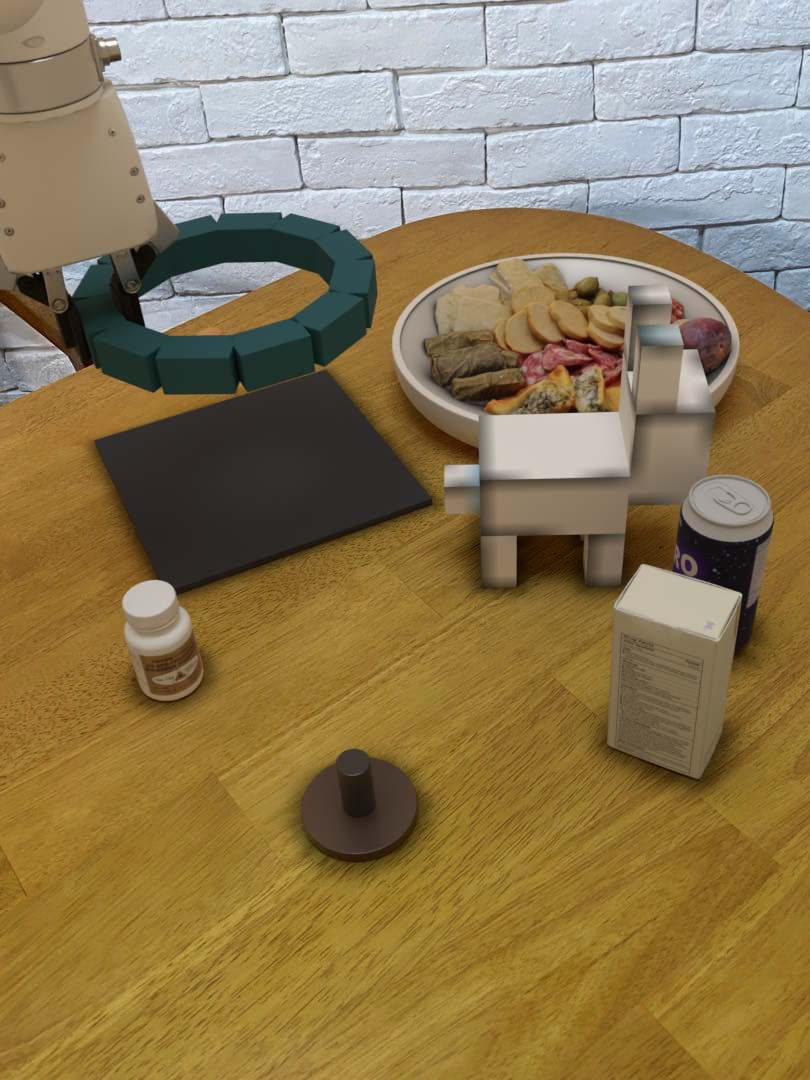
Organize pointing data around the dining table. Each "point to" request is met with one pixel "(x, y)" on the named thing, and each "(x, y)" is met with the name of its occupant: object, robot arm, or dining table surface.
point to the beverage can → (726, 540)
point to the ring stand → (359, 807)
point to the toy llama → (593, 454)
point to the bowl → (542, 338)
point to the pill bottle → (161, 641)
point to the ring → (251, 352)
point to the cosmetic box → (671, 668)
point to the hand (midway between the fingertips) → (106, 343)
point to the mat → (255, 479)
